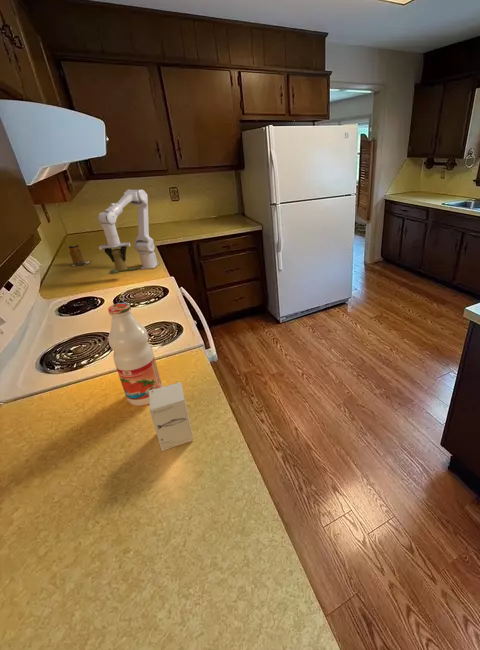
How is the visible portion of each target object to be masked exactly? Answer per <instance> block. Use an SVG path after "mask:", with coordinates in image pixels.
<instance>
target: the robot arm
mask: <svg viewBox="0 0 480 650" xmlns="http://www.w3.org/2000/svg"><path fill="white" fill-rule="evenodd" d="M148 197H149V196H148V193H147V192H146V191H145V190H144V189H126V191H124V192H123V196H121V197H120V199H119V200H118V201H117V202H113V203H112V202H111V203H110V206H108V207H107V208H106V209H104V211H103V212H99V213H98V215H97V221H98V223H99V224H100V225H101V228H102V229H103V232H104V236H105V239H106V243H107V244H101V245H99V246H98V248H99V251H102V250H104V253H105V254H106V255H107V256H108V257H109V258H110V260H111V262H112V263H114V257H113V255H112V254H111V251H112V250H113V249H120V250H121V253H122V256H123V260H124V261H125V262H126V261H127V259H126V257H127V248H130V247H131V246H132V245H131V242H121V241H120V237H119V234H118V230H117V227H116V222H117V219H118V217H119V216H121V214H122V213H123V212H124V210H123V209H124V208H125V207H126V206H127V205H129V204H130V203H131V204H132V205H134V206H135V207H136V208H137V227H138V235H137V236H136V237H135V241H134V245H133V246H134V249H135V251H136V252H137V253H138V254H139V257H140V262H141V265H142V266H141V267H140V270H146V269H147V270H148V269H150V270H151V269H155V268H156V267H157V266H158V265H159V264H160V262H158V259H157V254H156V253H155V251H154V250H155V248H156V247H155V243H154V239H153V238H152V237H151V236H150V226H149V225H150V224H149V201H148V199H149V198H148Z"/></svg>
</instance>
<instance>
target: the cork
mask: <svg viewBox="0 0 480 650" xmlns="http://www.w3.org/2000/svg"><path fill="white" fill-rule="evenodd" d="M111 254H112V255H113V257H114V262H113V263H114V269H115V270H116V271H121V272H123V271H122V270H126V269H128V268H129V267H128V265H127V262H126V261H124V260H123V256H122V253H121V250H120V248H112V251H111Z"/></svg>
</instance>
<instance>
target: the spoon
mask: <svg viewBox="0 0 480 650" xmlns="http://www.w3.org/2000/svg"><path fill="white" fill-rule="evenodd" d="M138 269H139V268H138V267H128V268H127V269H126V270H122V271H116V270H115V268H113V269H111V270H109V272H110V274H117V273H121V272H129V271H136V270H138Z"/></svg>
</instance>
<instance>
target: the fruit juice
mask: <svg viewBox="0 0 480 650" xmlns="http://www.w3.org/2000/svg"><path fill="white" fill-rule="evenodd" d="M107 310H108V314H109V316H111V325H110V331H109V334H108V336H107V341H108V345H109V347H110V348H111V350H112V352H113V356H112V357H113V362H114V365H115V368H116V371H117V375H118V377H119V380H120V383H121V386H122V389H123V392H124V394H125V397H126V400H127V402H128V403H129V404H130V405H132V406H135V407H142V406H147V405H150V404H149V390H153V389H157V388H160V387H163V382H162V380H161V377H160V372H159V368H158V364H157V362H156V361H157V360H156V357H155V353H154V350H153V347H152V346H151V344H150V342H148V341H149V340H148V339H149V334H148V331H147V329H146V328H145V326H144V325H143V324H141V323H139V321H138V320H137V319H136V318H135V317H134V315H133V314H132V307H131V304H130V303H128V302H125V301H124V302H117V303H114V304H112V305H110V306H109V307H108V309H107Z"/></svg>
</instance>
